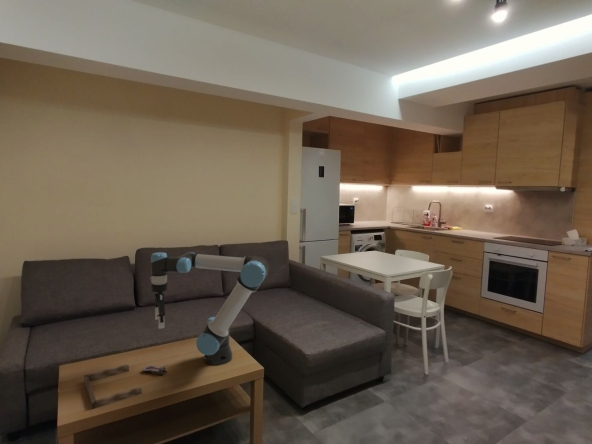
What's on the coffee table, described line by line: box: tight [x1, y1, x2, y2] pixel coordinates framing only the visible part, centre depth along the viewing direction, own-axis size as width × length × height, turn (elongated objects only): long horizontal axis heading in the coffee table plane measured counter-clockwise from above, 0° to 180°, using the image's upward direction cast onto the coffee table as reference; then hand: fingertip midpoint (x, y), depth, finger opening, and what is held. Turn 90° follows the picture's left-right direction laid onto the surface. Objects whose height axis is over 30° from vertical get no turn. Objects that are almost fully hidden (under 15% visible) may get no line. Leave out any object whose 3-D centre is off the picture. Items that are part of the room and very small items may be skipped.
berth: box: [83, 363, 143, 410], centre depth 164 cm, size 20×27×3 cm
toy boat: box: [141, 364, 168, 376], centre depth 178 cm, size 13×6×4 cm, turn 71°
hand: (159, 323), depth 180 cm, fingers open, 13 cm apart
